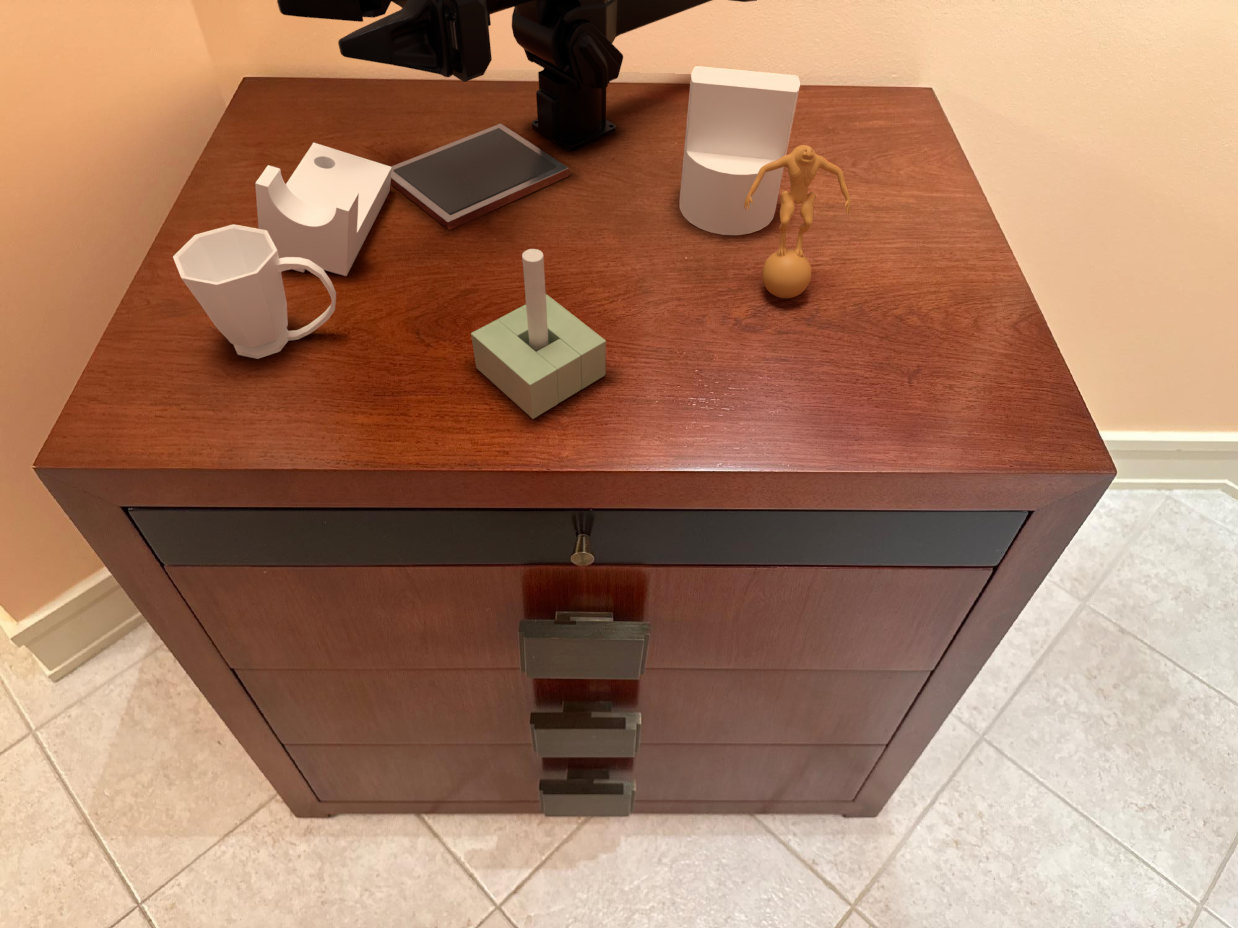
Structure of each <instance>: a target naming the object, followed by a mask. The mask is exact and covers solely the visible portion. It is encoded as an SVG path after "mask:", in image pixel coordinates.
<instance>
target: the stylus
mask: <svg viewBox="0 0 1238 928" xmlns="http://www.w3.org/2000/svg"><path fill="white" fill-rule="evenodd" d="M521 258H522V259H521V260H522V271H523V284H524V295H525V297H524V298H525V305H526V310H527V322H528V334H529V346H530V347H531V348H532V349H533V350H534V351H535V352H537V351H538V350H540V349H542V348H544V347H546V346H547V345H549V344H548V326H547V308H546V294H547V292H546V276H545V275H546V274H545V273H546V272H545V258H544V253H543V251H541V250H540V249H537V248H529V249H526V250H525V251H523V252H522V254H521Z"/></svg>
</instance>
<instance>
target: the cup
mask: <svg viewBox="0 0 1238 928" xmlns="http://www.w3.org/2000/svg"><path fill="white" fill-rule="evenodd" d="M172 258H173V261H174V263H175V266H176V268H177V271H178V273H179V274H178V275H179V276H180V278H181V280H182V281H183V283H184V284H185V286H186V287H187V288H188V290H189V291H190V293H191V294H192V295H193V297H194V298H195V299H196V301H197V302H198V303H199V305H200V306H201V308H202V309H203V311H204V313H205V314H206V315H207V317H208V318H209V320H210V321H211V322H212V324H213V325H214V326H215V328H216V329H217V330H218V331H219V333H221V334H222V335H223V336H224V337H225V339H226V340H227V341H228V342H229V343H230V344H232V345H233V348H234V349H235V352H236V354H237V355H238V356H241V357H247V358H252V359H257V360H259V359H261V358H264V357H267V356H271V355H274V354H276V353H279V352H281V351H282V349H283V348H284V347H285V346H286V344H287V343H288V342H289V341H296V340H300V339H302V338H305V337H306V336H309V335H310V334H312V333H313V332H315V331H316V330H317V329H319V328H320V327H321V326H323V325H324V324H325V323H326V322H328V321H329V320H330V318H331V316H332V315H333V314H334V313H335V311H336V305H337V291H336V289H335V286H334V284H333V282H332V280H331V279H330V277H329V276H328V274H327V273H326V270H323V269H322V268H321V267H319V266H318V265H316V264H315V263H313V262H312V261H310V260H308V259H304V258H300V257H284V258H279V256H278V251H277V249H276V247H275V245H274V243H273V241H272V239H271V237H270V235H269V233H268V232H267V230H262V229H258V228H256V227H251V226H245V225H240V224H234V223H233V224H229V225H225V226H221V227H219V228H214V229H211V230H207V231H204V232H200V233H196V234H194V235H193V236H192V237H191V238H190V239H189V240H188V241H187V242H186V243H185V244H184V245H183V246H182V247H181V248H180V249H179V250H178V251H177V252H176V253H175V254H174V255H173V256H172ZM294 268H303V269H306V271H308V272H310V273H311V274H313V275H314V276H315V277H317V278H319V280H320V282H322V284H323V285H324V287H325V288H326V290H327V292H328V295H329V297H330V299H331V301H330V302H331V303H330V305H329V306H328V307H327V309H325V311H324V312H323V313H321V314H320V315H319V316H318V317H317V318H315V319H313V320H312V321H311V322H310V323H309V324H307V325H305V326H303V327H300V328H299V329H295V330H288V325H289V324H288V323H289V321H288V301H287V297H286V290H285V286H284V281H283V275H282V272H285V271H289V270H293V269H294Z"/></svg>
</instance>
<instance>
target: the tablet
mask: <svg viewBox="0 0 1238 928" xmlns="http://www.w3.org/2000/svg"><path fill="white" fill-rule="evenodd" d="M390 167H392V170H391V183H390V186H392V187H394V188H395V189H396V190H397V191H399V192H400V194H403V195H404V196H405V197H406V198H408V199H409V200H410V201H412V202H413V203H414V204H416V205H417V207H419V208H421V210H423V211H424V212H425V213H427V214H428V215H429V216H430V217H432V218H433V219H434V220H435V221H436V222H437V223H439V224H440V225H442V226H443V227H444V228H446V229H447V230H448V231H451V230H453V229H455V228H458V227H459V226H462V225H464V224H466V223H468V222H470V221H473V220H475V219H478V218H479V217H481V216H483V215H486V214H488V213H491V212H492V211H495V210H497V209H499V208H502V207H503V206H506V205H508V204H510V203H512V202H515V201H517V200H520V199H521V198H525V197H526V196H529V195H530V194H532V193H535V192H536V191H537V192H538V191H539V190H541V189H544V188H546V187H548V186H550V185H553V184H555V183H557V182H559V181H561V180H563V179H566V178H568V177H570V168H569V166H567V165H566V164H564V163H562V162H560V161H559V160H558V159H556V158H555V157H553V156H552V155H550V154H548V153H547V152H546V151H544V150H542V149H541V148H539V147H538V146H536V145H535V144H534V143H532V142H530V141H529V140H527V139H525V138H524V137H522V136H521V135H520V134H518V133H516V132H515V131H513V130H511V128H508V127H507V126H506V125H504V124H502V123H497V124H496V125H493V126H491V127H488V128H486V129H483V130H480V131H477V132H475V133H472V134H470V135H467V136H465V137H462V138H460V139H457V140H455V141H452V142H449V143H447V144H445V145H442V146H440V147H437V148H435V149H432V150H430V151H427V152H425V153H422V154H420V155H417V156H415V157H412V158H410V159H406V160H404V161H401V162H399V163H396V164H394V165H392V166H390Z"/></svg>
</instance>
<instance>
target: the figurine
mask: <svg viewBox="0 0 1238 928" xmlns="http://www.w3.org/2000/svg"><path fill="white" fill-rule="evenodd" d="M782 167H784V168H787V173H788V177H789V179H788V181H789V184H790V187H789V188H790V191H788V190H783V191H782V192H781V194H780V209H779V220H780V224H779V226H778V230H779V231H780V234H779V242H778V243H779V244H778V250H776V251H774V252H773V253H772V254H770V255H769V256H768V257H767V258H766V260H765V262H764V263H763V266H762V271H761V278H762V283H763V285H764V287H765V289H766V290H767V292H768V293H770V294H771V295H773V296H774V297H777V298H780V299H791V298H795V297H797V296H799V295H800V294H802V293H803V292H804V291H806V289H807V287H809V284H810V282H811V278H812V266H811V263H810V260H808V257H807V256H806V255H805V253H804V250H803V245H804V234H805V233H806V232H808V230H809V229H810V228H811V227H812V225H813V220H814V206H815V205H814V204H815V201H816V199H817V194H816V193H815V192H814V191H811V192H809V193H808V191H809V187H810V186H811V184H812V182H813V181H814V179H815V177H816V176H817V174H818V173H817V172H818V170H819V169H822V170H824V171H826V172H829V173H831V174H833V175H836V176H837V182H838V183H839V188H840V192H841V193H842V196H843V197H844V199H845V204H844V209H846V214H848V215H849V214H850V212H851V197H850V193H849V189H848V187H847V184H846V181H845V174H844V172H843V170H842V169H841V168H840V167H839V166H837V165H836V164H834V163H832V162H830V161H828V160H827V159H826V158H825V157H824V156H822V155H818V154H817V153H816V152H815V150H814V149H813V148H812V147H811V146H810V145H807V144H800V145H798V146H796V147H794V149H792V151H791V152H790V153H789V154H788V153H787V154H786V155H785V156H783V157H781V158H780V159H778V160H776V161H773V162H770V163H768V164H766V165H764V166H763V167H761V168H760V170H759V172H758V175H757V177H756V179H755V181H754V183H753V185H752V186H751V188H750V191H749V193H748V195H747V197H746V199H745V203H744V208H745V210H746V208H747V204H748V210H749V205H750V202H751V203H752V204H753V201H752V198H751V196H752V195H753V194H754V192H755V191H756V190H757V188H758V186H759V184H760V181H761V180H762V178H763V176H764V174H765V172H768V171H772V170H775V169H779V168H782ZM800 204H801V205H800ZM795 205H797V206H798V205H800V209H799V215H800V217H801V219H802V220H803V223H801V224H800V225H799V227H798V232H797V237H796V242H795V243H796V245H795V249H794V248H787V247H786V246H787V244H786V243H787V242H786V240H787V231H788V229H789V223H790V221H791V218H792V217H794V214H795V210H796V208H795Z"/></svg>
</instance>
